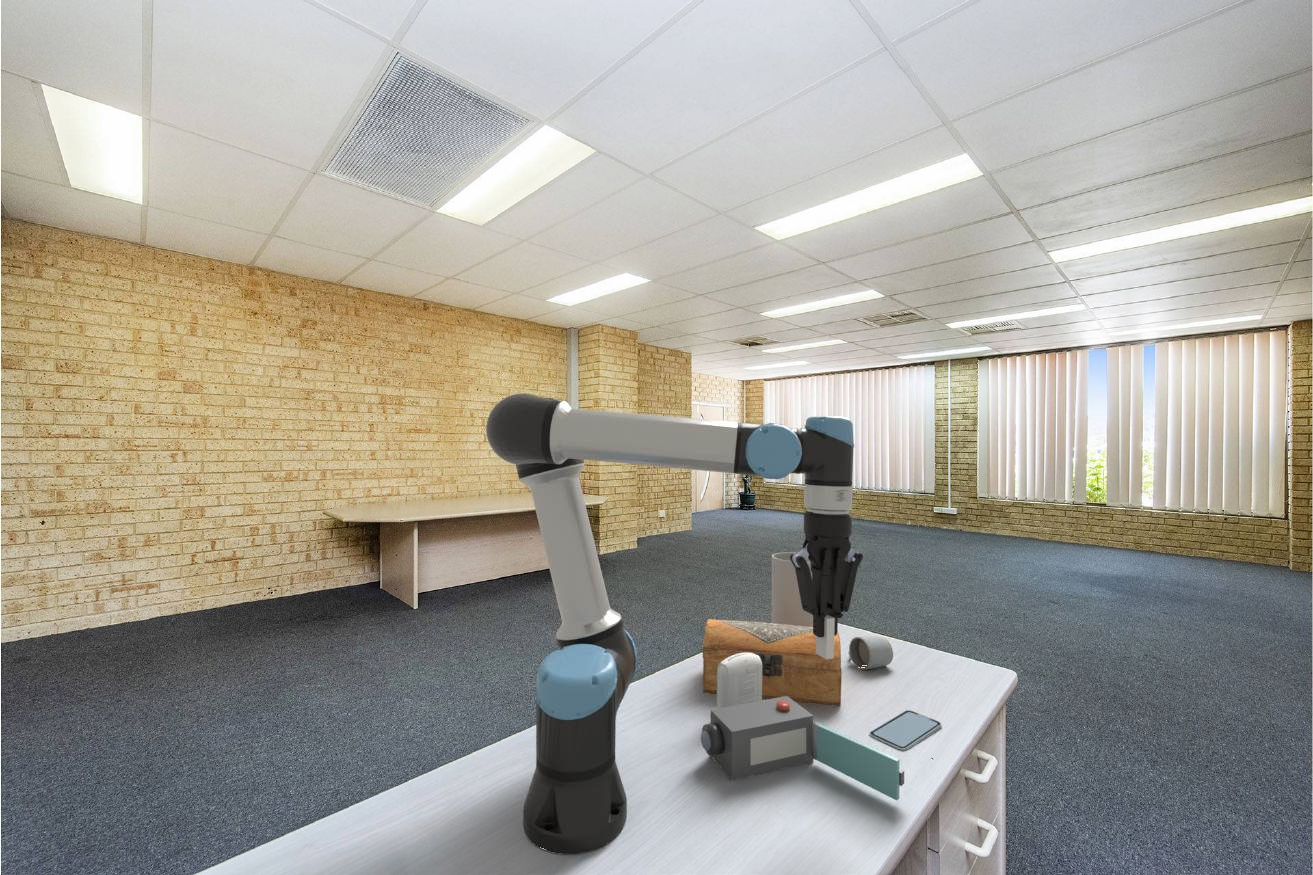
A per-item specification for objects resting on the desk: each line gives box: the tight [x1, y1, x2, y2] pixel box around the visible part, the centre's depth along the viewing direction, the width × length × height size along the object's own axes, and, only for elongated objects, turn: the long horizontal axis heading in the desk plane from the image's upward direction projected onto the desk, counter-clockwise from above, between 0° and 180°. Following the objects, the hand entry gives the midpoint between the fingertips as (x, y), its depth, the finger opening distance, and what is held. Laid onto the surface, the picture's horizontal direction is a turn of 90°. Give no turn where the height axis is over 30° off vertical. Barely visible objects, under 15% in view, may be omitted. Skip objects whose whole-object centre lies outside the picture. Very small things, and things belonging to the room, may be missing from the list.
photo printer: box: [716, 653, 763, 709], centre depth 112 cm, size 10×4×12 cm, turn 123°
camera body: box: [700, 696, 814, 782], centre depth 96 cm, size 19×8×9 cm, turn 110°
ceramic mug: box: [847, 635, 894, 671], centre depth 139 cm, size 11×8×8 cm
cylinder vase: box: [771, 551, 813, 627], centre depth 149 cm, size 12×12×25 cm
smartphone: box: [868, 709, 942, 752], centre depth 106 cm, size 7×1×15 cm
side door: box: [813, 721, 905, 801], centre depth 90 cm, size 15×2×6 cm, turn 41°
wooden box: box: [702, 618, 843, 707], centre depth 126 cm, size 30×16×14 cm, turn 77°
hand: (824, 655), depth 89 cm, fingers closed
